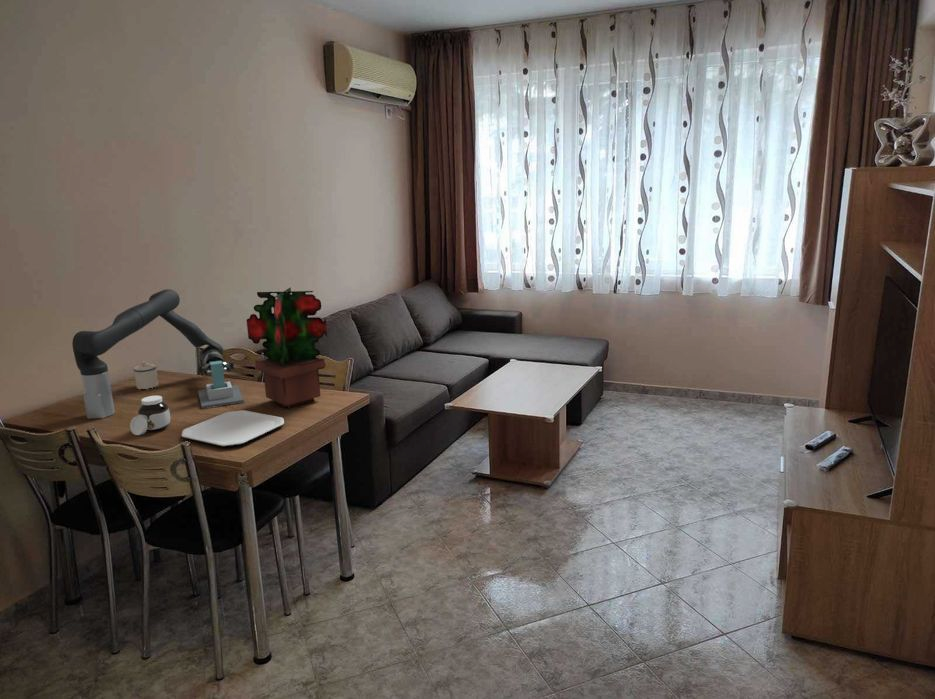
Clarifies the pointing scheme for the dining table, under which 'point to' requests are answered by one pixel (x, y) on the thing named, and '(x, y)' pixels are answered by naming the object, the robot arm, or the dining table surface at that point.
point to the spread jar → (151, 416)
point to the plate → (233, 428)
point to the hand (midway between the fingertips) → (217, 371)
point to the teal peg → (217, 374)
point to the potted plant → (289, 345)
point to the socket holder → (220, 395)
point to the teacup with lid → (145, 375)
